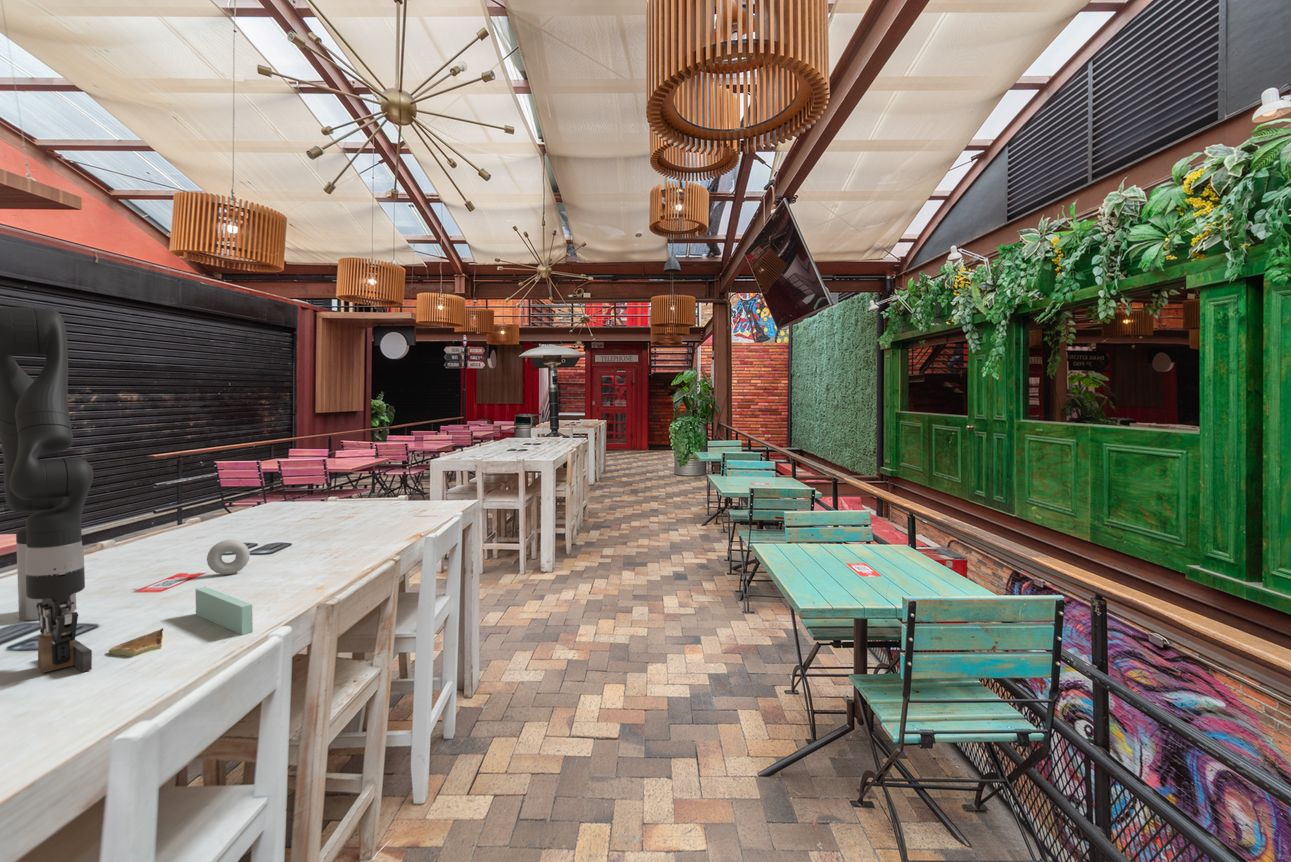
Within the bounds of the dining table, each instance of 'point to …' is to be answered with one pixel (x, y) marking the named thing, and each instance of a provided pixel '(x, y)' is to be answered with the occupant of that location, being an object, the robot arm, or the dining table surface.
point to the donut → (229, 568)
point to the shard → (139, 645)
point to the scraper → (78, 655)
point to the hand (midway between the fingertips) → (58, 660)
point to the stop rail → (224, 610)
